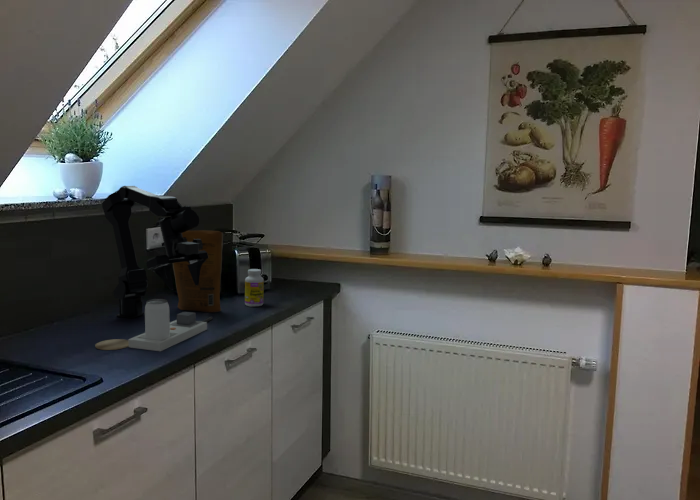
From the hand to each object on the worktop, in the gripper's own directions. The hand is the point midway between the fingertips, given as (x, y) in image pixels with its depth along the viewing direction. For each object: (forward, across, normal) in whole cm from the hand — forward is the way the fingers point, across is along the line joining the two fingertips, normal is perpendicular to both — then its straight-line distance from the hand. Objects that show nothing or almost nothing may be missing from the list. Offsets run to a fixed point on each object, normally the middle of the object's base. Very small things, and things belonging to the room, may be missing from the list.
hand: (184, 287), depth 180 cm
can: (+14, -14, 0) cm, 20 cm away
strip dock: (+14, -8, +2) cm, 16 cm away
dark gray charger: (+10, 0, +4) cm, 11 cm away
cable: (+12, +9, +7) cm, 16 cm away
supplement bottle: (+9, +38, +13) cm, 42 cm away
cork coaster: (+12, -22, +7) cm, 26 cm away
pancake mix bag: (+6, +19, +21) cm, 29 cm away
